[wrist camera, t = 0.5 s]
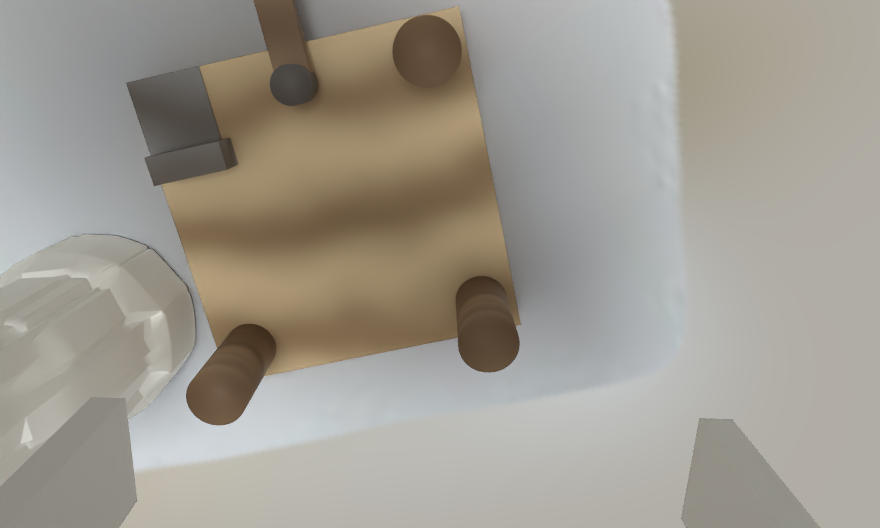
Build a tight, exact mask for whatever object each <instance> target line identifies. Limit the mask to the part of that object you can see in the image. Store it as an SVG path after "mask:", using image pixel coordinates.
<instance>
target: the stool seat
mask: <svg viewBox="0 0 880 528" xmlns="http://www.w3.org/2000/svg"><path fill="white" fill-rule="evenodd" d="M306 45H307V49H308V53H309V57H310V60H311V64H312V68H313V72H314V73H315V75H316V77H317V80H318V90H317V93H316V95H315V97H314V98H313V99H312V100H310V101H309V102H307V103H303V104H299V105H296V106H287V105H284V104H282V103H280V102H279V101H277V100H276V99H275V97H274V96H273V94H272V92H271V90H270V78H271V75H272V73H273V68H272V64H271V61H270V57H269V53H268V50H267V51H263V52H258V53H254V54H250V55H245V56H241V57H237V58H232V59H228V60H224V61H220V62H215V63H211V64H207V65H202V66H197V67H193V68H189V69H184V70H180V71H176V72H171V73H167V74H163V75H158V76H154V77H150V78H145V79H141V80H137V81H132V82H128V83H126V84H127V87H128V90H129V93H130V96H131V99H132V102H133V105H134V108H135V110H136V113H137V116H138V119H139V122H140V125H141V128H142V131H143V134H144V137H145V140H146V143H147V146H148V149H149V152H150V155H151V156H149V157H146V158H145V161H146V164H147V167H148V170H149V173H150V175H151V178H152V181H153V184H154V186H157V185H161V184H162V187H163V190H164V193H165V196H166V199H167V202H168V205H169V208H170V211H171V214H172V217H173V220H174V223H175V226H176V228H177V231H178V234H179V237H180V240H181V243H182V246H183V249H184V252H185V255H186V258H187V261H188V264H189V267H190V270H191V273H192V275H193V278H194V281H195V284H196V287H197V290H198V293H199V296H200V299H201V302H202V305H203V308H204V311H205V314H206V317H207V320H208V323H209V325H210V328H211V331H212V334H213V337H214V340H215V343H216V346H217V350H216V351H215V352H214V353H213V355H212V356H211V357H210V359H209V360H208V361H207V362H206V364H205V365H204V366H203V367H202V369H201V370H200V371H199V372H198V374H197V375H196V376H195V377H194V379H193V380H192V381H191V383H190V384H189V386H188V388H187V393H186V399H187V404H188V406H189V408H190V410H191V411H192V413H193V414H194V415H195V416H196V417H197V418H199V419H200V420H202V421H203V422H206V423H208V424H212V425H226V424H229V423H232V422H234V421H235V420H237V419H238V418H239V417H240V416H241V415H242V413H243V412H244V410H245V408H246V406H247V405H248V403H249V401H250V399H251V398H252V396H253V394H254V392H255V391H256V389H257V387H258V385H259V384H260V382H261V380H262V378H263V377H264V376H267V375H272V374H277V373H282V372H287V371H292V370H297V369H302V368H307V367H312V366H317V365H322V364H327V363H332V362H337V361H342V360H347V359H352V358H357V357H362V356H367V355H372V354H377V353H382V352H387V351H392V350H397V349H402V348H407V347H412V346H417V345H422V344H427V343H432V342H437V341H442V340H447V339H452V338H457V337H458V347H459V352H460V355H461V357H462V359H463V360H464V361H465V363H466V364H467V365H468V366H470V367H471V368H473V369H475V370H477V371H481V372H496V371H499V370H502V369H504V368H506V367H507V366H508V365H510V364H511V363H512V362H513V360H514V359H515V358H516V356H517V354H518V351H519V337H518V333H517V330H516V326H517V325H521V323H520V318H519V313H518V307H517V302H516V297H515V292H514V287H513V282H512V277H511V271H510V266H509V261H508V256H507V251H506V246H505V241H504V235H503V230H502V225H501V220H500V215H499V210H498V205H497V199H496V194H495V189H494V184H493V179H492V174H491V169H490V163H489V158H488V153H487V148H486V143H485V138H484V133H483V127H482V122H481V117H480V112H479V107H478V102H477V96H476V91H475V86H474V81H473V76H472V71H471V66H470V60H469V55H468V50H467V45H466V40H465V35H464V30H463V24H462V19H461V14H460V9H459V6H457V7H453V8H449V9H445V10H440V11H436V12H432V13H427V14H423V15H419V16H414V17H410V18H406V19H401V20H397V21H393V22H388V23H384V24H380V25H375V26H371V27H367V28H362V29H358V30H354V31H349V32H345V33H341V34H336V35H332V36H328V37H323V38H319V39H315V40H310V41H306Z"/></svg>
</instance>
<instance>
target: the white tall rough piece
mask: <svg viewBox="0 0 880 528" xmlns="http://www.w3.org/2000/svg"><path fill="white" fill-rule="evenodd" d="M195 330H196V329H195V315H194V308H193V304H192V299H191V295H190V293H189V292H188V289H187V286H186V285H185V284H184V283H183V282H182V281H181V279H180V278H179V277H178V276H177V275H176V274H175V273H174V272H173V271H172V269H171V268H170V267H169V266H168V265H167V264H166V263H165V262H164V261H163V260H162V259H161V257H160V256H159V255H158V254H157V253H156V252H155V251H154V250H153V249H147V246H145V245H143V244H141V243H138V242H135V241H132V240H129V239H126V238H123V237H120V236H113V235H92V234H83V235H81V236H79V237H74V236H72V237H70V238H68V239H65V240H63V241H61V242H59V243H57V244H55V245H52V246H50V247H48V248H46V249H44V250H41V251H39V252H37V253H35V254H33V255H31V256H30V257H28V258H26V259H24V260H22V261H20V262H18V263H16V264H15V265H13V266H12V267H11V268H10V269H9V270H7V271H6V272H5V273H4V274H3V275H2V276H0V486H1V485H2V484H3V483H4V482H5V481H6V480H7V479H8V478H9V477H10V476H11V475H13V474H14V473H15V472H16V471H17V470H18V469H19V468H20V467H21V466H22V465H23V464H24V463H25V462H26V461H27V460H28V459H29V458H30V457H31V456H32V455H33V454H34V453H35V452H36V451H37V450H38V449H39V448H40V447H41V446H42V445H43V444H44V443H45V442H46V441H47V440H48V439H49V438H50V437H51V436H52V435H53V434H54V433H55V432H56V431H57V430H58V429H59V428H60V427H61V426H62V425H63V424H64V423H65V422H66V421H67V420H68V419H69V418H70V417H71V416H73V415H74V414H75V413H76V412H77V411H78V410H79V409H80V408H81V407H82V406H83V405H84V404H85V403H86V402H87V401H88V400H89V399H90V398H91V397H105V398H125V400H126V409H127V417H128V419H129V418H131V417H133V416H135V415H136V414H138V413H139V412H141V411H142V410H144V409H145V408H146V407H147V406H149V405H150V404H151V402H152V401H153V400H154V399H155V398H156V397H157V395H158V394H159V393H160V392H161V391H162V390H163V388H164V387H165V386H166V385H167V384H168V383H169V382H170V380H171V379H172V378H173V377H174V376H175V374H176V373H177V372H178V370H179V369H180V368H181V366H182V365H183V364H184V362H185V361H186V359H187V358H188V356H189V355H190V353H191V352H192V350H193V348H194V345H195Z"/></svg>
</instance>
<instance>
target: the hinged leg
mask: <svg viewBox="0 0 880 528" xmlns="http://www.w3.org/2000/svg"><path fill="white" fill-rule="evenodd" d="M254 3H255V7H256V10H257V14H258V17H259V21H260V25H261V28H262V32H263V35H264V39H265V43H266V46H267V50H268V53H269V57H270V61H271V64H272V68H273V73H272V75H271V78H270V90H271V92H272V94H273V96H274V97H275V99H276V100H277V101H279V102H280V103H282V104H284V105H287V106H296V105H299V104H303V103H307V102H309V101H310V100H312V99H313V98H314V97H315V95H316V93H317V90H318V80H317V77H316V75H315V73H314V72H313V68H312V64H311V60H310V57H309V53H308V49H307V45H306V41H305V37H304V33H303V30H302V26H301V22H300V18H299V14H298V10H297V7H296V3H295V0H254Z"/></svg>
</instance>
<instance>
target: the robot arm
mask: <svg viewBox="0 0 880 528" xmlns="http://www.w3.org/2000/svg"><path fill="white" fill-rule="evenodd" d="M136 502H137V496H136V488H135V478H134V469H133V461H132V452H131V443H130V435H129V426H128V417H127V409H126V400H125V398H105V397H91V398H90V399H89V400H88V401H87V402H86V403H85V404H84V405H83V406H82V407H81V408H80V409H79V410H78V411H77V412H76V413H75V414H74V415H73V416H71V417H70V418H69V419H68V420H67V421H66V422H65V423H64V424H63V425H62V426H61V427H60V428H59V429H58V430H57V431H56V432H55V433H54V434H53V435H52V436H51V437H50V438H49V439H48V440H47V441H46V442H45V443H44V444H43V445H42V446H41V447H40V448H39V449H38V450H37V451H36V452H35V453H34V454H33V455H32V456H31V457H30V458H29V459H28V460H27V461H26V462H25V463H24V464H23V465H22V466H21V467H20V468H19V469H18V470H17V471H16V472H15V473H14V474H13V475H11V476H10V477H9V478H8V479H7V480H6V481H5V482H4V483H3V484H2V485H1V486H0V528H119V527H120V525H121V524H122V522H123V521H124V519H125V518H126V516H127V515H128V513H129V512H130V511H131V509H132V508H133V506H134V505H135V503H136ZM681 519H682V521H683V523H684V525H685V527H686V528H820V527H819V525H818V524H817V523H816V522H815V521H814V519H813V518H812V517H811V516H810V514H809V513H808V512H807V511H806V509H805V508H804V507H803V506H802V504H801V503H800V502H799V501H798V500H797V498H796V497H795V496H794V495H793V494H792V492H791V491H790V490H789V488H788V487H787V486H786V485H785V484H784V482H783V481H782V480H781V479H780V477H779V476H778V475H777V474H776V472H775V471H774V470H773V469H772V468H771V466H770V465H769V464H768V463H767V462H766V460H765V459H764V458H763V456H762V455H761V454H760V453H759V452H758V450H757V449H756V448H755V447H754V445H753V444H752V443H751V442H750V441H749V439H748V438H747V437H746V436H745V434H744V433H743V432H742V431H741V429H740V428H739V427H738V426H737V425H736V423H735V422H734V421H733V420H732V419H707V418H706V419H705V418H699V423H698V429H697V434H696V440H695V445H694V450H693V456H692V461H691V467H690V473H689V478H688V483H687V489H686V494H685V500H684V505H683V511H682V517H681Z"/></svg>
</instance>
